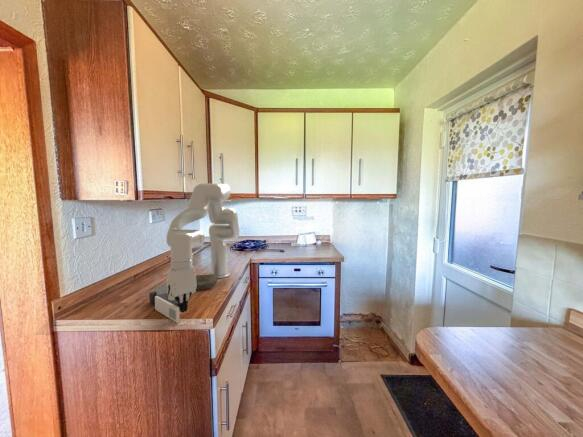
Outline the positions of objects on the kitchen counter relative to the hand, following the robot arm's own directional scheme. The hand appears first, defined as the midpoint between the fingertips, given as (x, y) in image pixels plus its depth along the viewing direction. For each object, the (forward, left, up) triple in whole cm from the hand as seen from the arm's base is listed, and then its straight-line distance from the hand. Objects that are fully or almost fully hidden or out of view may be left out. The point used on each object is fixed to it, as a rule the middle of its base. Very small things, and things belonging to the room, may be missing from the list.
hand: (182, 310), depth 93 cm
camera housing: (-20, -3, -2) cm, 20 cm away
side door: (-4, -5, -2) cm, 7 cm away
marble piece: (-33, +15, -3) cm, 36 cm away
